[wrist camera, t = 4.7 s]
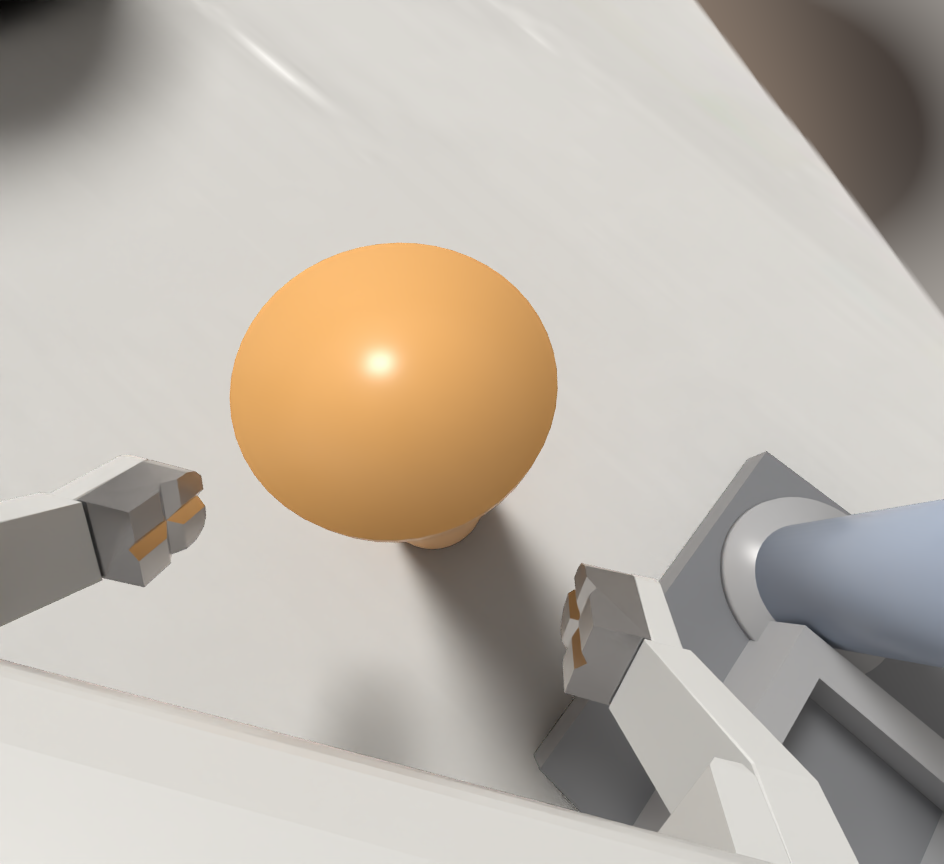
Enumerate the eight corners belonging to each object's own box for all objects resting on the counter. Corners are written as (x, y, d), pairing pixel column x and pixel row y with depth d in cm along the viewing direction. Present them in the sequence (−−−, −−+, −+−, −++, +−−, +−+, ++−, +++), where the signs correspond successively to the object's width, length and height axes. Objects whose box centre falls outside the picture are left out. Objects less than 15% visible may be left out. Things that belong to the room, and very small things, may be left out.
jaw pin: (435, 595, 16) (393, 621, 6) (340, 500, 17) (161, 380, 7) (525, 493, 18) (621, 366, 7) (432, 411, 19) (397, 196, 8)
